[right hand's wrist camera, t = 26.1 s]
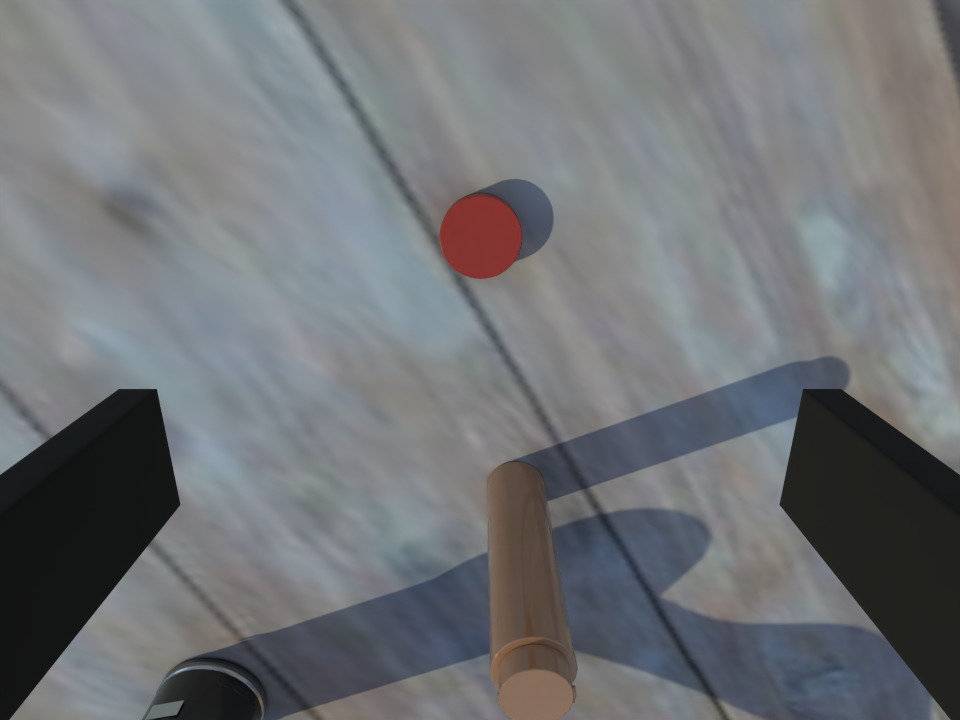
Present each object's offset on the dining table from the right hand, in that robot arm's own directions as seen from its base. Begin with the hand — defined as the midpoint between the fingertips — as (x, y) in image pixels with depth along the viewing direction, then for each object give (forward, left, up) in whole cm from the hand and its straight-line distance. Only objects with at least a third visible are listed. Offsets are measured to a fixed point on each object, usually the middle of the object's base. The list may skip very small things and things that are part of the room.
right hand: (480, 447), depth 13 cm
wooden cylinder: (+15, +13, -29) cm, 36 cm away
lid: (0, 0, -28) cm, 28 cm away
